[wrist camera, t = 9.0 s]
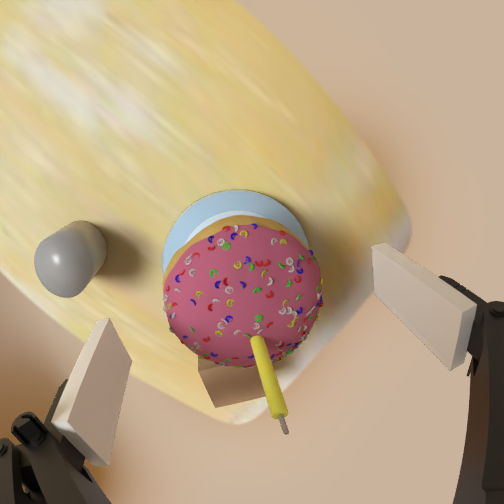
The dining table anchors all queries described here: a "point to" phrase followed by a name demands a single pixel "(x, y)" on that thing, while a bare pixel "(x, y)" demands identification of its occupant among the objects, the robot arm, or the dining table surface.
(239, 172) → the dining table surface
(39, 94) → the dining table surface
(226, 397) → the walnut block
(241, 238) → the cupcake
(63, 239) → the grey cylinder
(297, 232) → the saucer
